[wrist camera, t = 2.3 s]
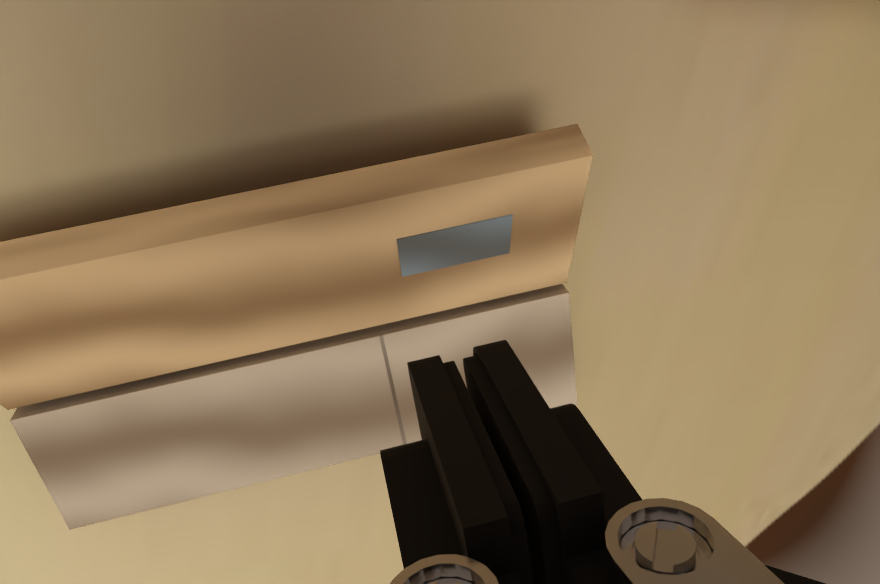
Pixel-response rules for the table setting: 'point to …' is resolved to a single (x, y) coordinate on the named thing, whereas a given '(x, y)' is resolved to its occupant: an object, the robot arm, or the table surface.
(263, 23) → the table surface
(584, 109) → the table surface
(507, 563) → the robot arm
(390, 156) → the table surface
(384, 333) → the floor row
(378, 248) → the board
